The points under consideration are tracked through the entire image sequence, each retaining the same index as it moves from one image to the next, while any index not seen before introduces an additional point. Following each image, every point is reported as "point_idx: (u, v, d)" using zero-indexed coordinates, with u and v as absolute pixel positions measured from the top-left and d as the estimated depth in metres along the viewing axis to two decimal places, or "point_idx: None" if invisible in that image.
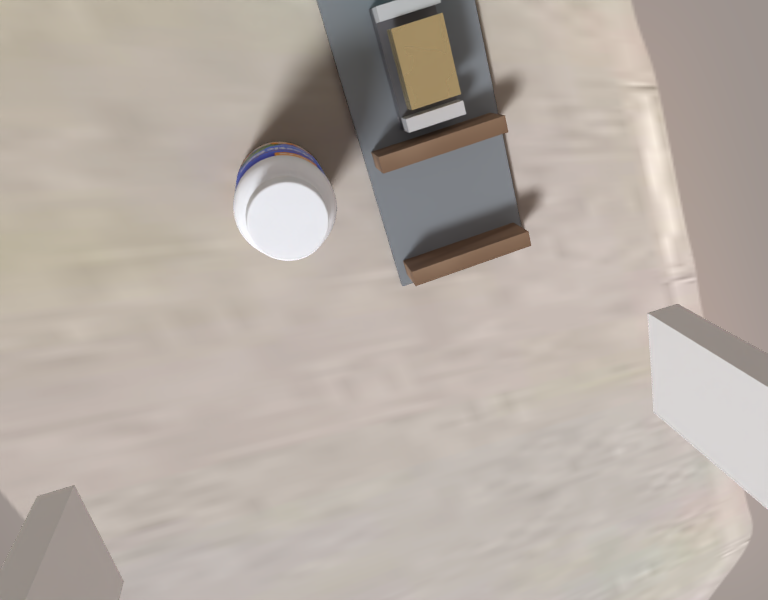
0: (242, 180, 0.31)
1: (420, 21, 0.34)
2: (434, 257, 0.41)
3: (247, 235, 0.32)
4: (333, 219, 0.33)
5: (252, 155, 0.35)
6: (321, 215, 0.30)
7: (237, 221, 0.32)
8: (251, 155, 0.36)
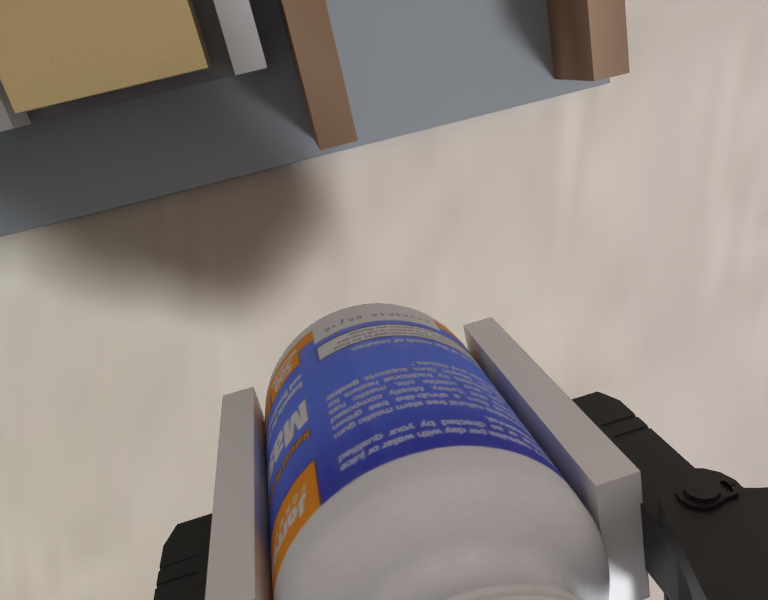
0: None
1: None
2: (567, 7, 0.17)
3: None
4: (514, 492, 0.09)
5: None
6: None
7: None
8: None
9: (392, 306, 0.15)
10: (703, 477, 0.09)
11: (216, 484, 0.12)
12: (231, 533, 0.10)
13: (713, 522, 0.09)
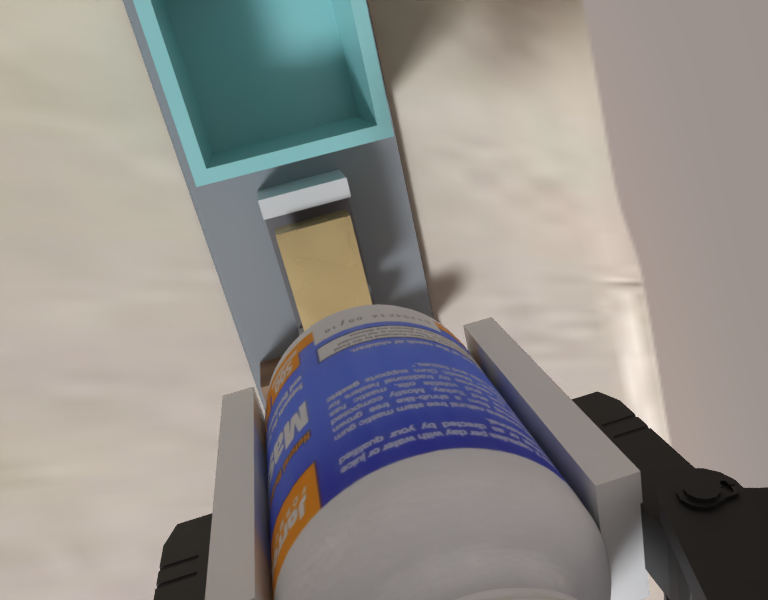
0: None
1: (318, 226, 0.24)
2: None
3: None
4: (515, 494, 0.09)
5: None
6: None
7: None
8: None
9: (393, 308, 0.15)
10: (703, 477, 0.09)
11: (216, 484, 0.12)
12: (231, 533, 0.10)
13: (713, 522, 0.09)
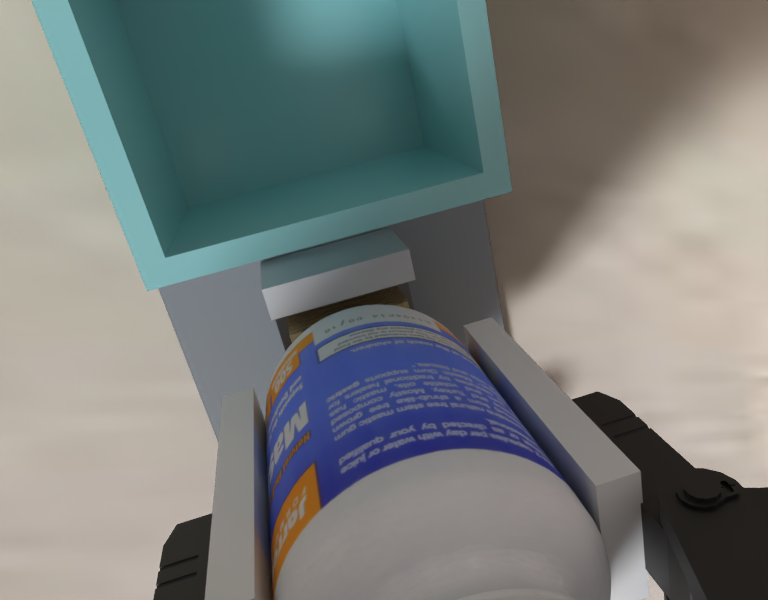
0: None
1: None
2: None
3: None
4: (515, 495, 0.09)
5: None
6: None
7: None
8: None
9: (393, 308, 0.15)
10: (703, 477, 0.09)
11: (216, 483, 0.12)
12: (231, 533, 0.10)
13: (713, 522, 0.09)
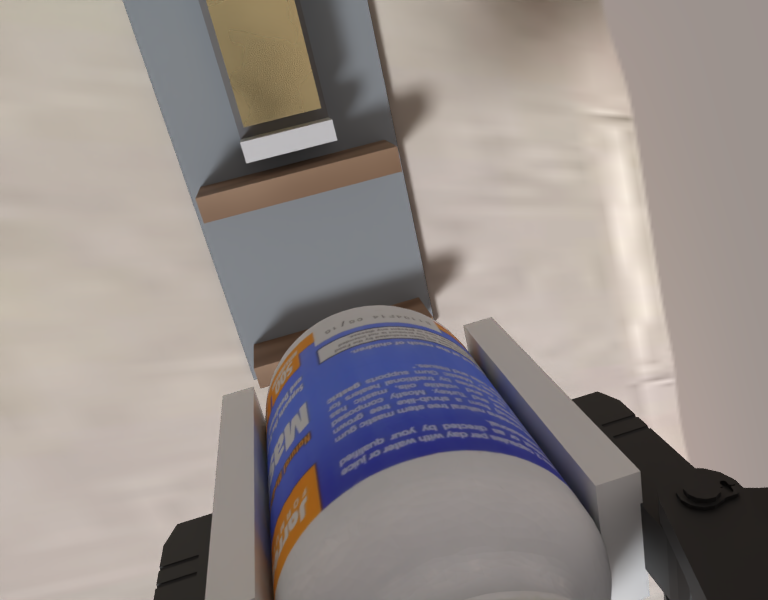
0: None
1: None
2: None
3: None
4: (516, 497, 0.09)
5: None
6: None
7: None
8: None
9: (394, 308, 0.15)
10: (703, 477, 0.09)
11: (216, 484, 0.12)
12: (231, 533, 0.10)
13: (713, 522, 0.09)
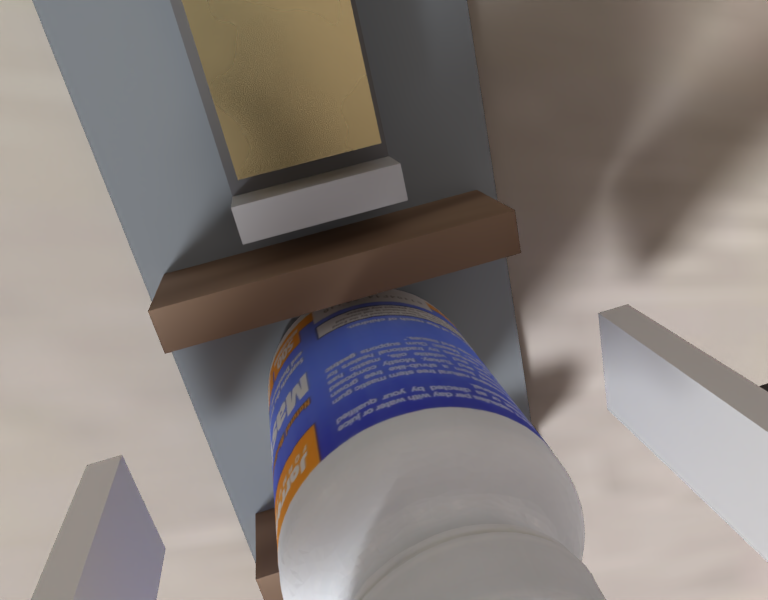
0: None
1: None
2: None
3: None
4: (494, 446, 0.10)
5: None
6: None
7: None
8: None
9: None
10: None
11: (38, 587, 0.10)
12: None
13: None
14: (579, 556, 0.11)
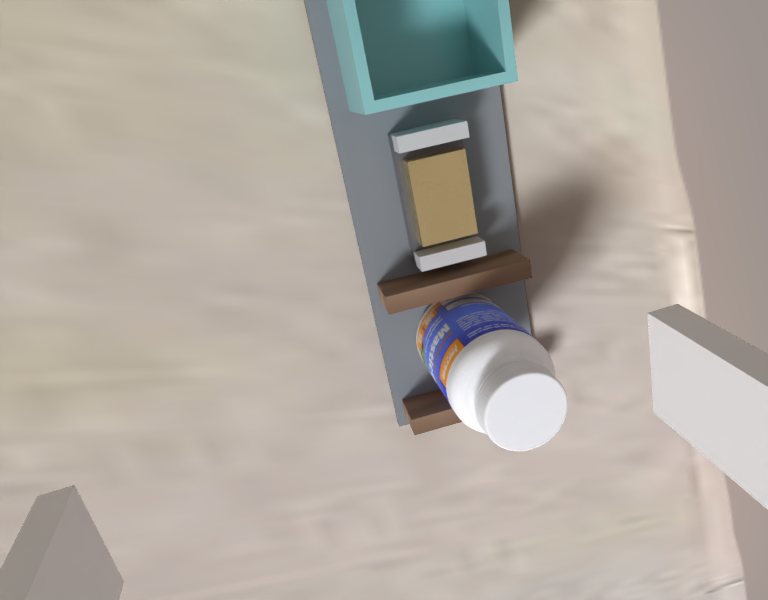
0: (467, 425, 0.30)
1: (440, 156, 0.31)
2: (438, 401, 0.36)
3: None
4: (524, 340, 0.29)
5: None
6: (527, 380, 0.27)
7: None
8: None
9: None
10: None
11: None
12: None
13: None
14: None
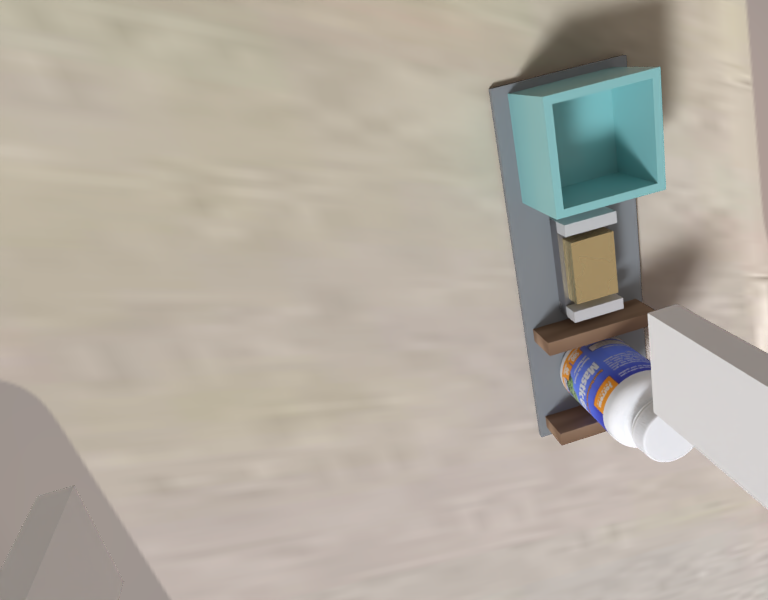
0: (619, 441, 0.40)
1: (595, 237, 0.40)
2: (576, 418, 0.46)
3: None
4: None
5: (577, 400, 0.44)
6: None
7: None
8: (575, 398, 0.45)
9: None
10: None
11: None
12: None
13: None
14: None
